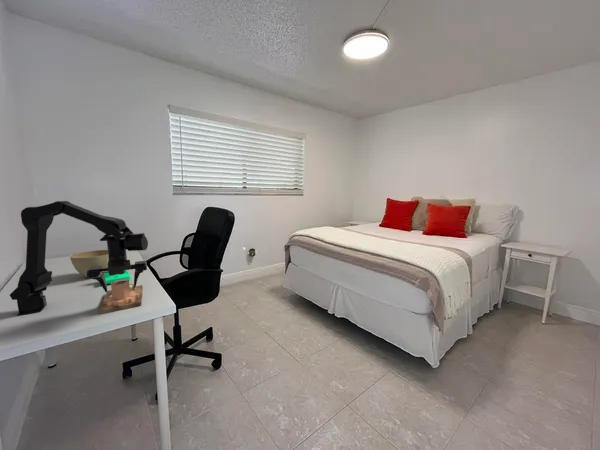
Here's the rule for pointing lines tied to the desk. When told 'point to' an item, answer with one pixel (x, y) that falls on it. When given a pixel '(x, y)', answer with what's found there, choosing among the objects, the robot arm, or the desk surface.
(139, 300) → the carrier
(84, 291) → the desk surface
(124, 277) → the camera mount
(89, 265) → the tan bowl
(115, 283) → the gear
